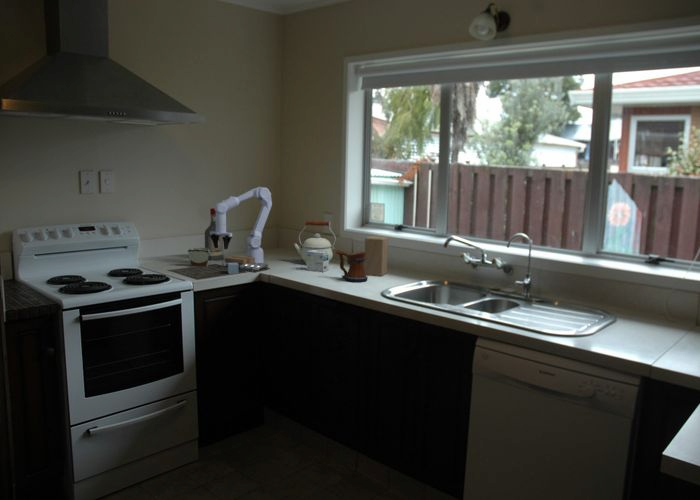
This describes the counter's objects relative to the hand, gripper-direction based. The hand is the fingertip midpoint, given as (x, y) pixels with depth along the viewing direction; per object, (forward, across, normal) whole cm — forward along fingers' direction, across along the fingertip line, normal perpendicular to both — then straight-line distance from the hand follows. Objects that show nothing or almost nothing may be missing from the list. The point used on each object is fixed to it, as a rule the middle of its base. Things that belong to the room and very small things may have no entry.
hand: (221, 248), depth 329 cm
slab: (+6, +13, +1) cm, 15 cm away
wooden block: (+10, +83, +28) cm, 88 cm away
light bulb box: (+10, +52, +19) cm, 56 cm away
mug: (+10, +79, +8) cm, 80 cm away
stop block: (+7, +18, -11) cm, 22 cm away
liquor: (+10, -16, +12) cm, 22 cm away
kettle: (+10, +39, +36) cm, 54 cm away
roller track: (+9, +17, 0) cm, 19 cm away
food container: (+10, -7, -9) cm, 15 cm away
